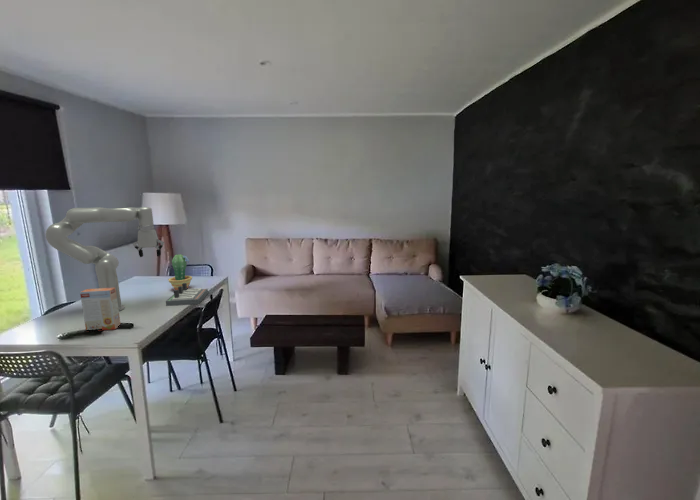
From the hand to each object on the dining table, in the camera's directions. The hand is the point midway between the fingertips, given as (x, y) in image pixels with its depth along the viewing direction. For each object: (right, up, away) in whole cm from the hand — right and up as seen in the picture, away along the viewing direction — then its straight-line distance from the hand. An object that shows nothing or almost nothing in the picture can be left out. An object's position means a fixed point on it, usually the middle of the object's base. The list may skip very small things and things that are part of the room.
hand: (150, 256), depth 213 cm
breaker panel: (+16, -28, +15) cm, 35 cm away
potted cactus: (+1, -24, +38) cm, 45 cm away
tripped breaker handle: (+12, -24, +13) cm, 30 cm away
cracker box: (-6, -37, -31) cm, 49 cm away
